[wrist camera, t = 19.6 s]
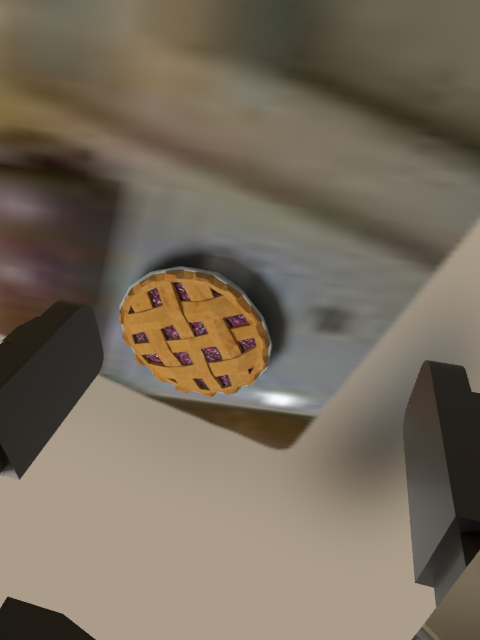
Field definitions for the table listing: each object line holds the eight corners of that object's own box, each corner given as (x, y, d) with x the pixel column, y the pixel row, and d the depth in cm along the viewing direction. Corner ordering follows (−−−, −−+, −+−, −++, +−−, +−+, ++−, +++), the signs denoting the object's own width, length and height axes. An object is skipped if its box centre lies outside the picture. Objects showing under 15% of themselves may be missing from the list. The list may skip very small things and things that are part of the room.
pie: (101, 283, 61) (83, 302, 57) (230, 232, 51) (219, 251, 47) (178, 390, 71) (167, 412, 67) (299, 364, 61) (294, 389, 57)
